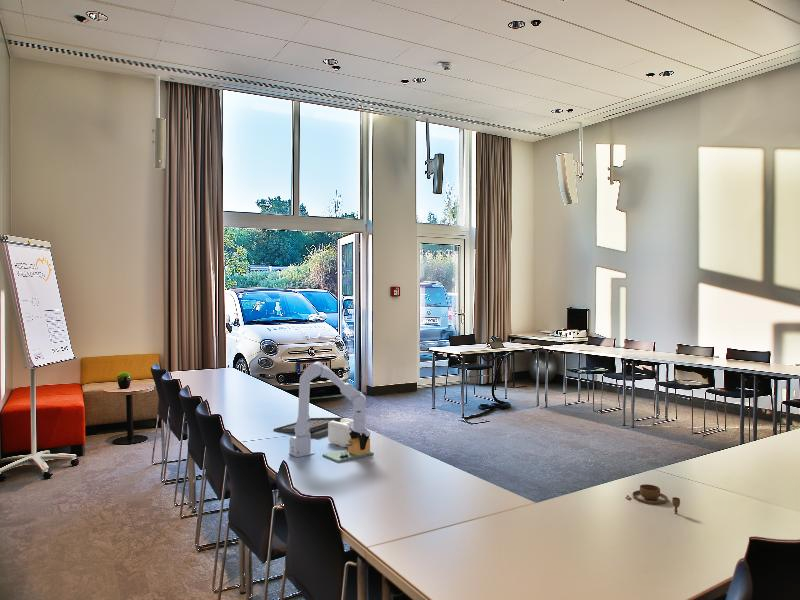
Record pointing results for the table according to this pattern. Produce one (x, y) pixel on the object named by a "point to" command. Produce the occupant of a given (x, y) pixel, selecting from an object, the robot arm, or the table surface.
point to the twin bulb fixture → (344, 455)
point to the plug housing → (357, 446)
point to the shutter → (312, 426)
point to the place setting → (653, 496)
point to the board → (336, 457)
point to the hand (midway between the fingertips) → (359, 448)
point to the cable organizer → (339, 431)
